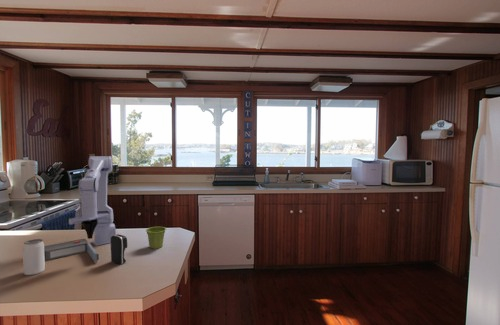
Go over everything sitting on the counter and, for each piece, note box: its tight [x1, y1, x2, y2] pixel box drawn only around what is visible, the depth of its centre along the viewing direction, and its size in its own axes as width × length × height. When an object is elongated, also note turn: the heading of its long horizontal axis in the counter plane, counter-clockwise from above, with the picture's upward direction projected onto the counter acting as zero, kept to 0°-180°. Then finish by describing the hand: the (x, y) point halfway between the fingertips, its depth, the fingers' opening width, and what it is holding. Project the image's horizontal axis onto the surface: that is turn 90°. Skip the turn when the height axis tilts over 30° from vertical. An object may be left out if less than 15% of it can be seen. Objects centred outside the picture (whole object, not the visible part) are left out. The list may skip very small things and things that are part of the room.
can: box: [22, 238, 46, 276], centre depth 104 cm, size 6×6×12 cm
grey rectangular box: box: [44, 238, 89, 261], centre depth 123 cm, size 17×8×4 cm, turn 132°
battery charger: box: [110, 233, 128, 265], centre depth 114 cm, size 7×4×11 cm, turn 60°
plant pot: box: [145, 226, 167, 250], centre depth 132 cm, size 9×9×9 cm
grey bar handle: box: [86, 242, 100, 264], centre depth 119 cm, size 17×2×4 cm, turn 41°
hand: (89, 237), depth 115 cm, fingers closed
